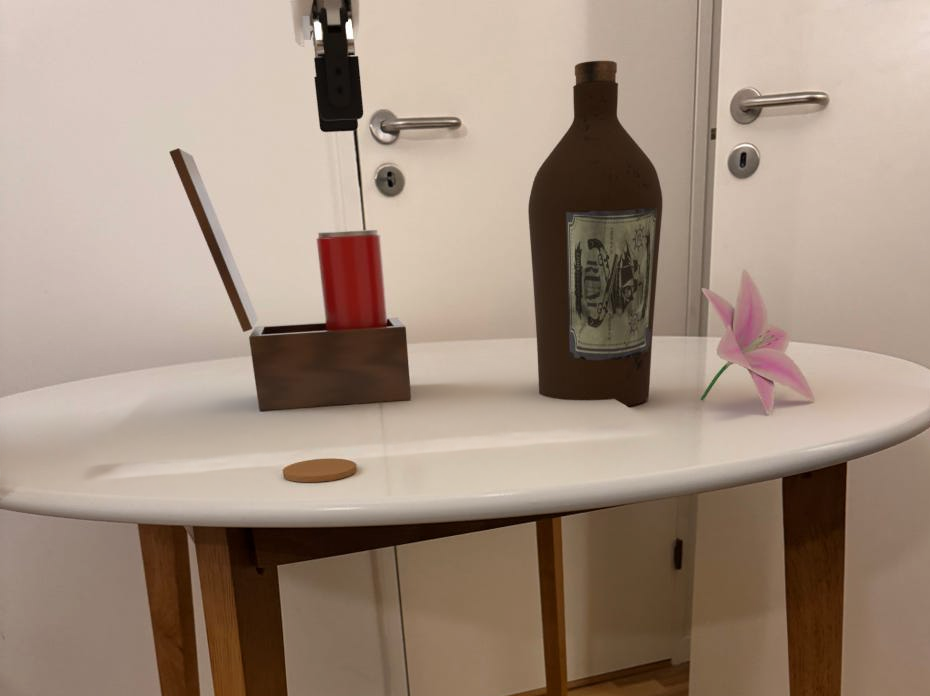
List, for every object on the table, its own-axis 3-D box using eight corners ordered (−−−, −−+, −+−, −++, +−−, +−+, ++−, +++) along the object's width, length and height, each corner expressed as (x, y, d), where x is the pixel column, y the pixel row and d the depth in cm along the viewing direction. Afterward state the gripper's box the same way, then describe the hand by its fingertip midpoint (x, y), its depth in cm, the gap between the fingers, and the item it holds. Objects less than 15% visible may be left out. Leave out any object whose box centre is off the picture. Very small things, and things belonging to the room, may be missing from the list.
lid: (192, 155, 77) (183, 158, 77) (178, 147, 70) (168, 151, 70) (258, 319, 83) (249, 322, 83) (252, 329, 75) (243, 332, 75)
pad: (282, 485, 59) (281, 479, 59) (284, 467, 63) (283, 461, 63) (358, 478, 60) (357, 472, 59) (355, 461, 64) (354, 455, 64)
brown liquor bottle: (518, 395, 84) (509, 75, 74) (628, 385, 86) (635, 72, 76) (553, 416, 75) (549, 52, 65) (676, 405, 77) (691, 50, 67)
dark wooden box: (403, 394, 88) (397, 317, 85) (412, 410, 80) (405, 326, 77) (265, 404, 86) (254, 326, 83) (260, 422, 78) (248, 336, 76)
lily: (687, 436, 71) (758, 321, 65) (627, 356, 78) (687, 248, 73) (799, 463, 77) (874, 360, 71) (734, 386, 84) (796, 288, 78)
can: (333, 402, 80) (315, 233, 75) (332, 392, 85) (315, 232, 80) (395, 398, 81) (381, 229, 75) (390, 388, 86) (377, 229, 80)
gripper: (266, -105, 75) (295, 137, 82) (253, -192, 59) (290, 116, 66) (360, -107, 76) (380, 133, 83) (372, -193, 60) (396, 112, 67)
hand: (340, 125), depth 74 cm, fingers open, 9 cm apart
